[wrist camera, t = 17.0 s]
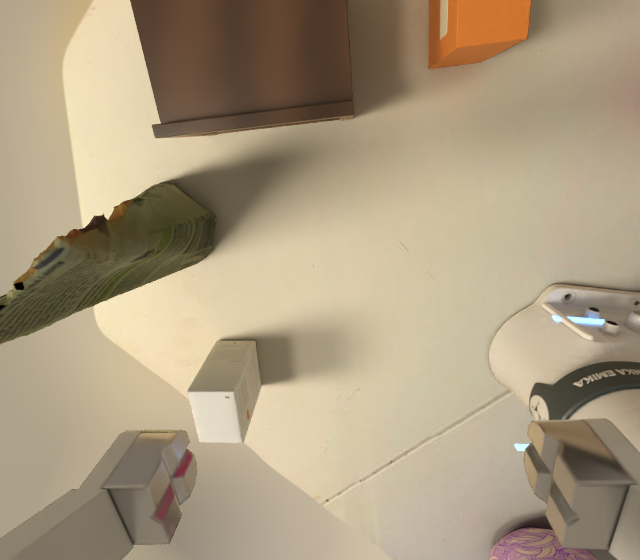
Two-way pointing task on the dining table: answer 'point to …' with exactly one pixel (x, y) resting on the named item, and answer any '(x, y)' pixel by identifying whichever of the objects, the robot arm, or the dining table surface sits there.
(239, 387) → the small box
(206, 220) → the pouch
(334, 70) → the shelf
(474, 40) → the block
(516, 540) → the bowl of food
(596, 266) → the dining table surface
